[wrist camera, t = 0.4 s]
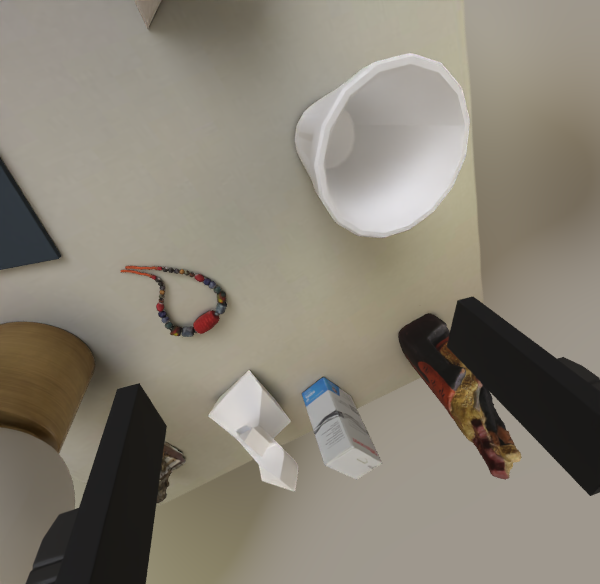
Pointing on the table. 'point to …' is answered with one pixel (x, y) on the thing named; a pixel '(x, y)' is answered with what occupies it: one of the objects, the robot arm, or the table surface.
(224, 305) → the necklace
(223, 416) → the white angular piece
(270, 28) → the table surface
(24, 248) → the mat
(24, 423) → the lamp
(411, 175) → the cup
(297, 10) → the table surface
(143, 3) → the toy
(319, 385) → the ink box
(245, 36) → the table surface
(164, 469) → the brown sculpture on base
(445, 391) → the statue
